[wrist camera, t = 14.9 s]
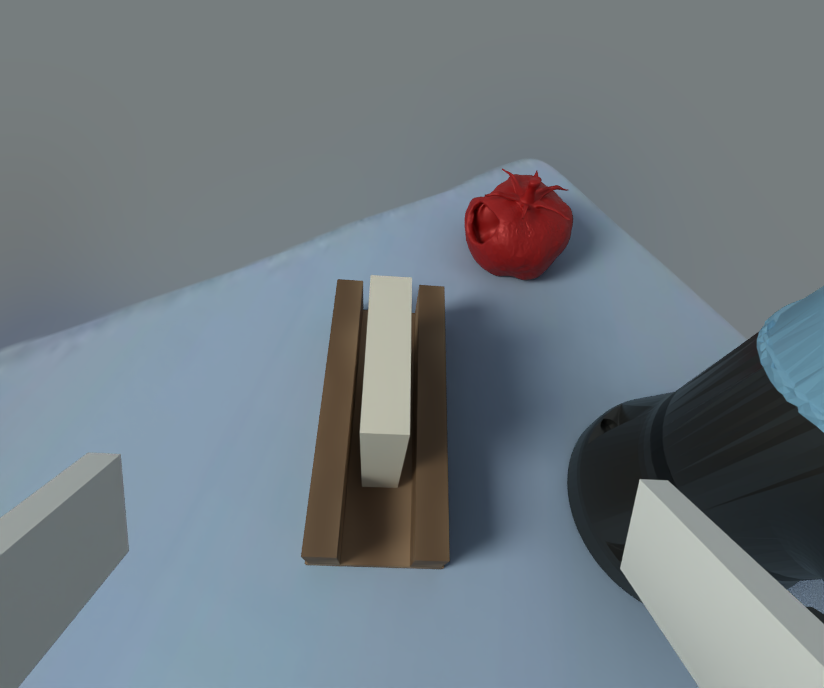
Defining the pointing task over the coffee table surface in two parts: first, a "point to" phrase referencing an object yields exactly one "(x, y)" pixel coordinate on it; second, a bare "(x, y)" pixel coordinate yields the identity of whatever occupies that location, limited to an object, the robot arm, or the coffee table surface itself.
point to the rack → (341, 458)
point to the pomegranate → (518, 227)
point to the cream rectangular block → (386, 382)
